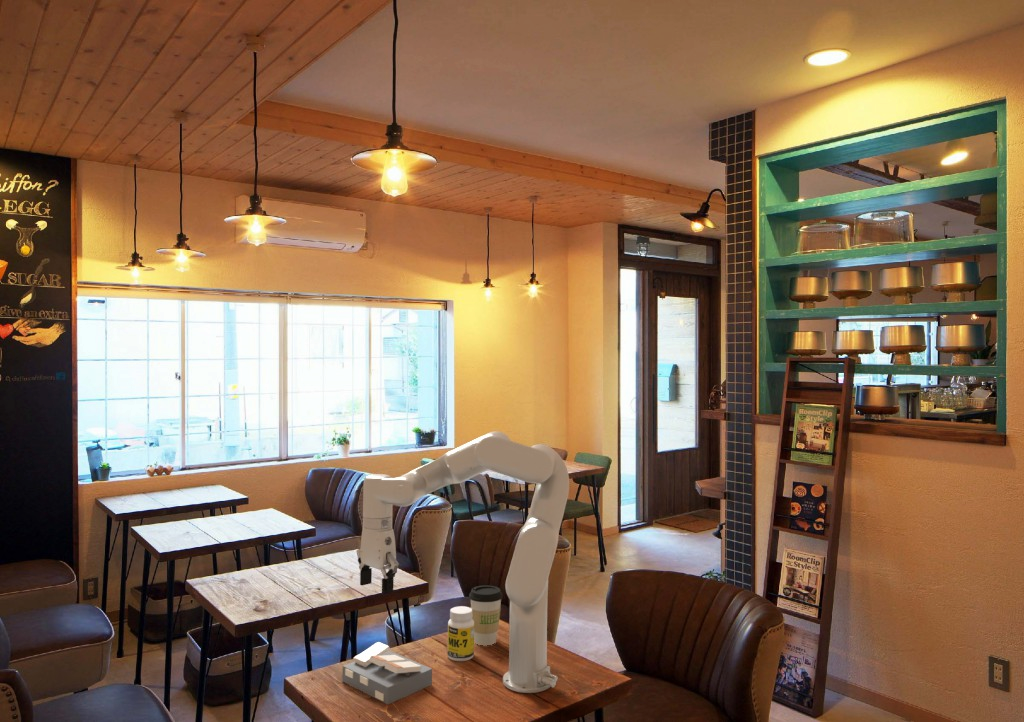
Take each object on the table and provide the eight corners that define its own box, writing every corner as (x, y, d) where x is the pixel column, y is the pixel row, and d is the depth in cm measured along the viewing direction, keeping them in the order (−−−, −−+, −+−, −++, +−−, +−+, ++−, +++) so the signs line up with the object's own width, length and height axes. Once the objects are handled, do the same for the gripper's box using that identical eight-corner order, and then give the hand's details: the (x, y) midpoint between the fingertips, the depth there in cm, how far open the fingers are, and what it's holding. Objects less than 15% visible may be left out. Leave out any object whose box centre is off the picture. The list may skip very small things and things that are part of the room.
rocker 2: (404, 664, 180) (405, 658, 180) (380, 666, 174) (381, 660, 174) (393, 659, 183) (394, 654, 183) (369, 661, 177) (370, 655, 177)
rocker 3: (420, 671, 176) (421, 665, 176) (396, 673, 170) (397, 667, 171) (408, 666, 179) (410, 660, 179) (384, 668, 173) (385, 662, 173)
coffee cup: (498, 650, 200) (498, 596, 200) (464, 647, 202) (464, 594, 202) (505, 636, 210) (505, 586, 210) (473, 634, 211) (473, 583, 212)
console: (432, 684, 178) (432, 664, 178) (387, 704, 167) (387, 683, 167) (386, 664, 190) (386, 645, 190) (341, 682, 179) (341, 662, 179)
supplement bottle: (443, 660, 193) (444, 613, 193) (451, 650, 200) (452, 604, 200) (469, 663, 191) (470, 615, 191) (477, 652, 198) (477, 606, 198)
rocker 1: (389, 650, 184) (388, 645, 184) (365, 667, 178) (364, 662, 178) (379, 645, 187) (378, 641, 187) (354, 662, 181) (353, 657, 181)
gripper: (409, 526, 181) (408, 593, 181) (370, 515, 193) (369, 578, 193) (385, 530, 176) (384, 600, 176) (346, 519, 188) (345, 584, 188)
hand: (376, 588), depth 184 cm, fingers open, 9 cm apart
